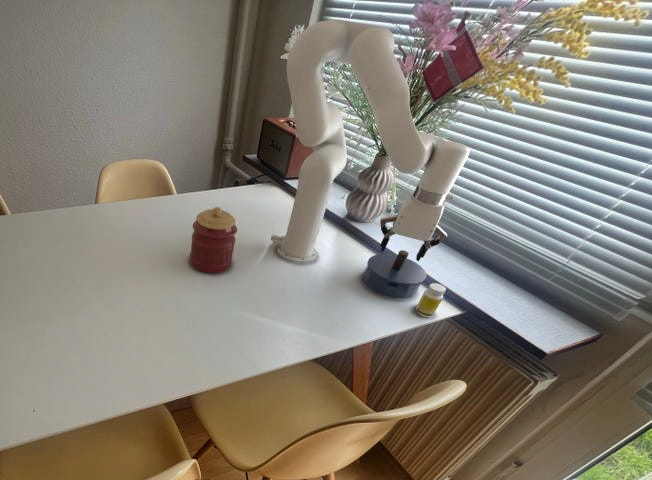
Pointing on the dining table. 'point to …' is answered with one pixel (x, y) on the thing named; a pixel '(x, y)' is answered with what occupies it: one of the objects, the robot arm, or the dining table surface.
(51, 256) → the dining table surface
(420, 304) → the supplement bottle
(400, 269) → the pot lid
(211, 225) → the kitchen canister
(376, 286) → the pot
